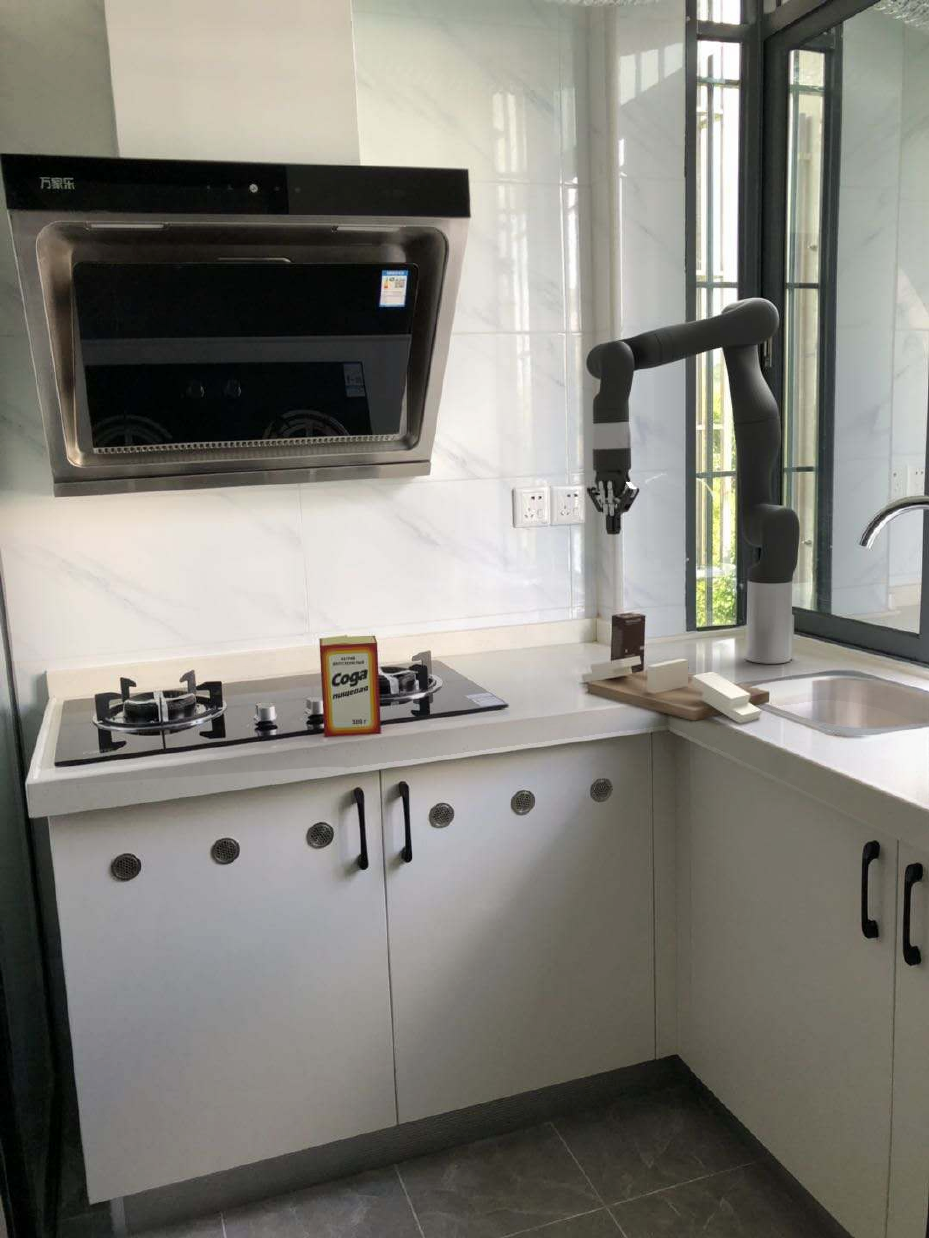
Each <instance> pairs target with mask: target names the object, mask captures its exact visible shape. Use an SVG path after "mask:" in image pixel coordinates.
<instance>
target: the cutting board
mask: <svg viewBox="0 0 929 1238" xmlns="http://www.w3.org/2000/svg"><path fill="white" fill-rule="evenodd" d="M694 675H695V674H692V673H688V686H685V687H681V688H677V689H672V690H668V691H663V692H659V693H655V694H653V693H649V692H647V678H648V669H647V670H644V671H638V672H632V674H629V675H624V676H619V677H614V678H608V679H602V680H596V681H590V682H586V684H587V686H586V688H587V693H591V694H594V695H598V696H602V697H606V698H609V699H612V700H617V701H619V702H624V703H628V704H631V705H635V706H637V707H638V706H639V707H641V708H646V709H649V710H653V711H657V712H659V713H664V714H667V715H672V716H674V717H678V718H682V719H687V720H691V721H697V720H702V719H706V718H709V717H712V716H713V717H714V716H717V715H721V714H723V713H722V712H721V711H719V710H717V709H716V708H714V707H712V706H711V705H709V704H708V703H706V702H704V701H703V700H701V698H702V694H703V691H702V690H700V689H698V688H697V687H695V686H694V685H692V684H691V681H692V677H693V676H694ZM731 683H732V682H731ZM732 684H734V685H736V686H738V687H739V688H741V689H743V690H744V691H746V692H748V693H750V698H749V701H748V702H749V703H750V704H752V705H754V706H757V705H761V704H764V703H768V702H770V696H771V695H770V691H768V690H763V689H761V688H760V689H759V688H755V687H749V686H745V685H741V684H737V683H732Z"/></svg>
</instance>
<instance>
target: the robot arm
mask: <svg viewBox="0 0 929 1238" xmlns="http://www.w3.org/2000/svg"><path fill="white" fill-rule="evenodd" d="M779 322H780V316H779V311H778V309H777V307H776V306H775V305H774V304H773V303H772V302H771V301H769V300H768V299H765V298H761V297H752V298H746V299H741V300H737V301H733V302H731V303H729V304H727V305H726V306H725V307H724V308H723V310H722V311H721V312H720V314H717V315H714V316H710V317H707V318H702V319H698V320H692V321H687V322H683V323H682V322H681V323H677V324H672V325H668V326H664V327H660V328H655V329H653V330H648V331H645V332H642V333H640V334H638V335H635V336H632V337H628V338H623V339H618V340H612V341H607V342H603V343H599V344H597V345H596V346H594V347H593V348H592V349H591V350H590V351H589V352H588V355H587V357H586V361H585V363H586V364H585V365H586V369H587V371H588V373H589V374H590V376H592V377H593V378H595V379H596V380H597V379H598V380H600V382H599V391H598V393H597V394H596V395H595V396H594V398H593V401H592V420H593V421H592V435H591V438H592V439H591V440H592V469H593V471H594V472H595V474H596V475H595V478H594V483H593V484H592V485H591V486H588V487H587V488H586V492H587V494H588V496H589V498H590V500H591V501H592V503H593V505H594V507H595V509H596V510H597V512H598V513H602V514H603V515H604V516H605V530H606V534H607V535H611V536H614V535H615V536H616V535H619V534H620V533H621V531H622V526H621V525H622V519H621V518H622V517H621V516H622V515H623V514H624V513H628V512H629V511H630V509H631V507H632V505H633V503H634V502H635V500H636V498H637V496H638V494H639V493H640V488H639V487H638V486H634V485H633V484H632V483H631V476H630V473H629V471H630V470H631V469H632V437H631V436H632V434H631V427H630V402H629V400H630V399H629V398H630V396H631V391H632V386H633V380H634V374H635V372H636V371H640V370H647V369H654V368H657V367H661V366H665V365H669V364H671V363H675V362H678V361H683V360H684V359H687V358H691V357H694V356H697V355H700V354H704V353H706V352H710V351H713V350H716V349H720V348H721V349H722V354H723V358H724V363H725V366H726V367H725V368H726V373H727V377H728V389H729V395H730V396H729V397H730V403H731V404H730V405H731V411H732V422H733V433H734V440H735V446H736V454H737V466H738V475H739V488H740V489H739V490H740V491H739V492H740V527H741V533H742V536H743V538H744V540H745V541H746V542H747V543H748V544H749V545H750V546H753V547H756V548H760V549H761V550H760V557H759V560H758V562H757V563H756V564H753V565H751V566H749V568H748V570H747V586H746V587H747V591H746V592H747V598H746V635H745V636H746V638H745V639H746V642H745V643H746V645H745V659H746V661H749V662H752V663H757V664H758V663H759V664H769V665H770V664H771V665H773V664H774V665H775V664H783V663H789V662H790V661H791V659H794V641H795V639H794V638H795V615H794V614H792V613H793V588H794V587H793V582H794V573H795V570H796V569H797V565H798V559H799V558H798V557H799V546H800V535H801V534H800V531H801V530H800V521H799V520H800V519H799V517H798V514H797V512H795V510H794V509H792V508H791V507H789V506H785V505H780V504H779V505H778V504H775V505H774V502H773V497H772V487H771V478H772V473H773V469H774V466H775V463H776V461H777V458H778V454H779V453H780V449H781V443H782V430H781V420H780V411H779V407H778V404H777V401H776V399H775V397H774V395H773V393H772V391H771V389H770V387H769V385H768V384H767V382H766V380H765V378H764V375H763V374H762V373H763V372H762V371H761V366H760V362H759V361H760V360H759V353H758V352H759V351H758V350H759V349H758V346H759V345H762V344H763V343H766V342H767V341H769V340H770V339H771V338H773V337H774V335H775V334H776V332H777V330H778V328H779V324H780V323H779Z"/></svg>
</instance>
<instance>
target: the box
mask: <svg viewBox="0 0 929 1238" xmlns="http://www.w3.org/2000/svg"><path fill="white" fill-rule="evenodd" d="M646 617H647V616H646V614H642V613H637V612H633V611H632V612H626V613H623V612H622V613H618V614H613V615H611V632H610V633H611V634H610V635H611V638H610V661H614V660H619V659H625V658H630V657H635V656H640V660H641V664H638V665H633V666H631V669H632V673H636V672H641V671H645V667H644V666H645V642H646V641H645V638H646V636H645V635H646Z"/></svg>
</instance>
